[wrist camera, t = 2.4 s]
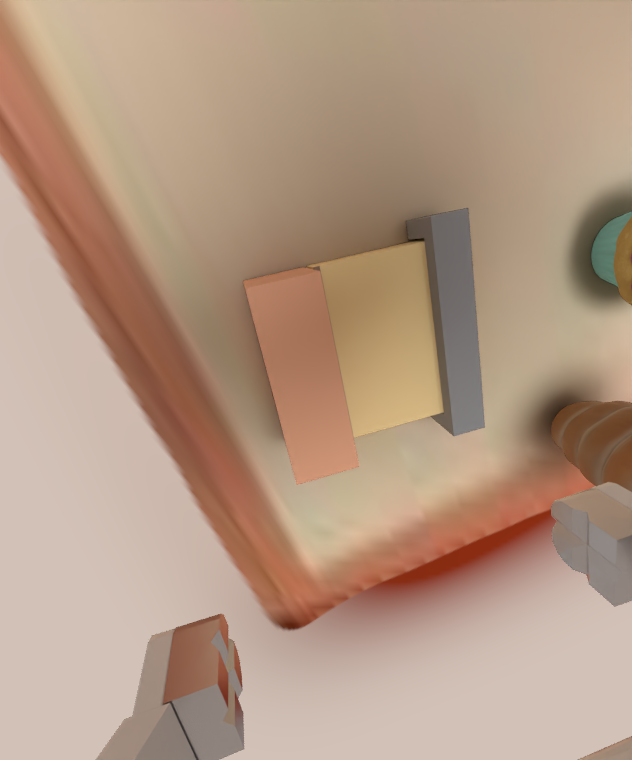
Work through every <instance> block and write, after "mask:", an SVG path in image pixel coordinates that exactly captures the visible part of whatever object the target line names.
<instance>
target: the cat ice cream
mask: <svg viewBox="0 0 632 760" xmlns="http://www.w3.org/2000/svg"><path fill="white" fill-rule="evenodd" d="M551 435H552V438H553V440H554V442H555V444H556V445H557V446H558V447H560V448H561V449H562V450H563V451H564V454H565V456H566V458H567V459H568V460H569V461H570V462H571V463H572V464H573V465H575V466H576V467H577V468H579V469H580V471H581V473H582V474H583V475H584V477H585V478H586V479H587V480H588V481H590V482H591V483H592V484H594V485H595V486H599V485H602V484H604V483H607V482H612V483H616V484H618V485H620V486H622V487H623V488H625V489H627V490H629V491H631V492H632V403H630V402H624V401H612V402H606V403H602V402H599V401H585V402H578V403H574V404H571V405H568V406H566V407H565V408H563V409H562V410H561V411H559V413H558V414H557V415H556V416H555V418H554V420H553V423H552V427H551Z"/></svg>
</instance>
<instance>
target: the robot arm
mask: <svg viewBox="0 0 632 760" xmlns="http://www.w3.org/2000/svg"><path fill="white" fill-rule="evenodd" d="M551 515H552V516H553V517H554V518H555V519H556V520H557V522H556V524H555V526H554V528H553V529H552V538H553V543H554V546H555V548H556V550H557V553H558V554H559V555H560V557H561V558H562V559H563V561H564V562H565V563H566V564H567V565H568V566H570V567H571V568H572V569H573V570H575V571H578V572H581V573H584V574H587V578H588V582H589V584H590V585H591V586H592V587H593V588H594V589H595V590H596V591H597V592H599V593H600V594H601V595H602V596H603V597H604V598H605V599H607V600H608V601H609V602H610V603H611V604H612V605H613V606H618V605H621V604H624V603H627V602H629V601H632V492H631V491H629V490H627V489H625V488H623V487H622V486H620V485H618V484H616V483H612V482H607V483H604V484H602V485H599V486H596V487H593V488H591V489H588V490H585V491H582V492H579V493H576V494H573V495H570V496H568V497H565V498H562V499H559V500H556V501H554V502H553V504H552V506H551ZM241 692H242V674H241V667H240V660H239V656H238V652H237V649H236V646H235V643H234V641H233V640H231V639H229V638H228V624H227V622H226V619H225V617H224V615H223V614H218V615H215V616H212V617H209V618H206V619H203V620H199V621H196V622H193V623H189V624H187V625H183V626H180V627H176V628H175V629H172V630H169V631H166V632H162V633H159V634H155V635H153V636H152V637H151V639H150V641H149V642H148V645H147V650H146V654H145V660H144V664H143V669H142V673H141V678H140V683H139V688H138V692H137V697H136V701H135V706H134V711H133V715H132V717H129V718H126V719H124V721H123V722H122V724H121V725H120V726H119V728H118V729H117V731H116V732H115V733H114V735H113V736H112V738H111V739H110V740H109V742H108V743H107V745H106V746H105V747H104V749H103V750H102V752H101V753H100V755H99V756H98V757H97V759H96V760H219V759H222V758H224V757H226V756H228V755H231V754H234V753H236V752H238V751H241V750H243V749H244V724H243V711H242V708H241V705H240V703H239V700H238V698H239V696H240V694H241ZM578 760H632V736H631V737H629V738H626V739H624V740H622V741H620V742H617V743H615V744H613V745H610V746H608V747H606V748H603V749H601V750H599V751H597V752H594V753H592V754H590V755H587V756H585V757H583V758H580V759H578Z"/></svg>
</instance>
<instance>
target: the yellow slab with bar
mask: <svg viewBox="0 0 632 760" xmlns="http://www.w3.org/2000/svg"><path fill="white" fill-rule="evenodd" d="M406 225H407V233H408V239H420V238H424V239H421V240H417V241H413V242H408V243H404V244H400V245H395V246H391V247H387V248H382V249H378V250H374V251H369V252H365V253H361V254H356V255H352V256H348V257H343V258H339V259H335V260H330V261H326V262H322V263H317V264H313V265H309V266H306V268H308V269H313V270H317V271H320V273H321V278H322V283H323V288H324V293H325V298H326V303H327V308H328V313H329V318H330V323H331V328H332V333H333V338H334V343H335V348H336V353H337V358H338V363H339V368H340V373H341V378H342V383H343V388H344V393H345V398H346V403H347V408H348V413H349V418H350V423H351V428H352V433H353V438H355V437H359V436H362V435H366V434H369V433H373V432H376V431H380V430H383V429H387V428H390V427H394V426H397V425H401V424H404V423H408V422H411V421H415V420H419V419H422V418H426V417H429V416H430V417H432V418H433V419H434V420H435V421H436V422H438V423H439V424H440V425H441V426H442V427H444V428H445V429H446V430H447V431H448V432H450V433H451V434H452V435H453V436H456V435H460V434H463V433H467V432H470V431H473V430H477V429H480V428H484V427H485V423H484V409H483V396H482V383H481V370H480V357H479V344H478V330H477V317H476V304H475V291H474V278H473V265H472V251H471V238H470V225H469V212H468V208H466V209H460V210H455V211H450V212H445V213H439V214H435V215H430V216H426V217H421V218H417V219H412V220H408V221H406Z"/></svg>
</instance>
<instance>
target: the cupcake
mask: <svg viewBox="0 0 632 760" xmlns="http://www.w3.org/2000/svg"><path fill="white" fill-rule="evenodd" d="M591 261H592V266H593V269H594V271H595V273H596V274H597V275H598V276H599V277H600V278H601V279H603V280H605V281H607V282H610V283H612V284H614V285H615V286H617V287H619V293H620V295H621V297H622V298H623V299H624V300H625V301H627V302H628V303H629V304H631V305H632V211H631V212H629V213H626V214H624V215H622V216H619V217H617V218H615V219H613V220H611V221H610V222H608V223H607V224H606V225H605V226H604V227H603V228H602V229H601V230H600V232H599V233H598V235H597V237H596V239H595V241H594V244H593V247H592V252H591Z"/></svg>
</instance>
